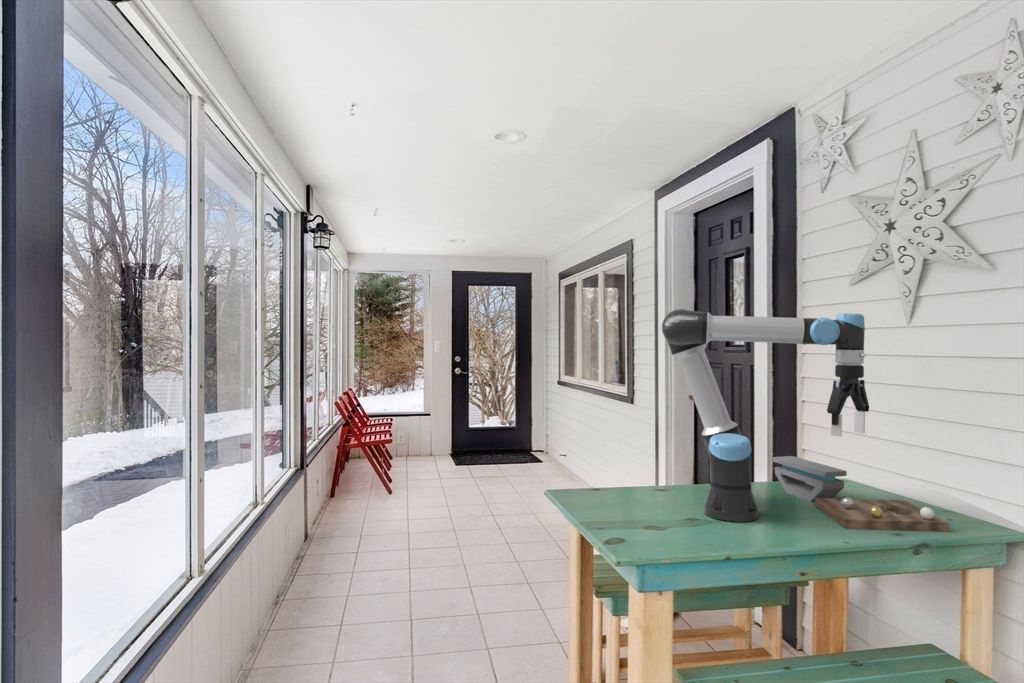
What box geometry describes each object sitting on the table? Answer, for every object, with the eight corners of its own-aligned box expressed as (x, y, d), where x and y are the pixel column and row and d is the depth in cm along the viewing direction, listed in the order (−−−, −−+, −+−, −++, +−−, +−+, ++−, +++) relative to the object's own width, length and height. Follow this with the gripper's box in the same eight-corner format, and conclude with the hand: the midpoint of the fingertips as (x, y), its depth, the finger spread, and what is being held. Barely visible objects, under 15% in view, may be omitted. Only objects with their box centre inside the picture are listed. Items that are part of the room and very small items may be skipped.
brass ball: (872, 519, 158) (872, 507, 158) (867, 515, 161) (866, 504, 161) (885, 519, 158) (884, 507, 158) (879, 516, 161) (879, 504, 161)
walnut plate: (845, 528, 158) (845, 519, 158) (815, 505, 180) (814, 498, 180) (948, 531, 155) (948, 522, 155) (905, 508, 176) (904, 500, 176)
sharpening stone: (847, 505, 180) (846, 470, 180) (825, 507, 179) (824, 472, 179) (792, 486, 205) (791, 455, 205) (772, 487, 203) (772, 457, 203)
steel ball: (843, 509, 167) (843, 498, 167) (839, 506, 170) (838, 496, 170) (855, 510, 167) (855, 499, 167) (850, 507, 170) (850, 496, 170)
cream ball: (923, 520, 156) (923, 509, 156) (917, 517, 159) (917, 505, 159) (936, 521, 156) (936, 509, 156) (930, 517, 159) (929, 506, 159)
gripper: (840, 365, 164) (839, 439, 165) (882, 364, 178) (881, 432, 178) (814, 364, 171) (813, 435, 171) (857, 363, 184) (856, 429, 184)
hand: (848, 434), depth 174 cm, fingers open, 13 cm apart
